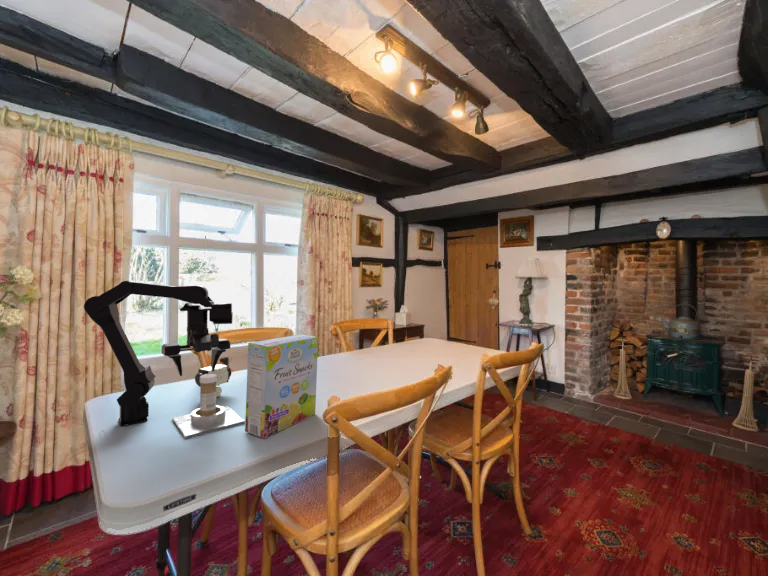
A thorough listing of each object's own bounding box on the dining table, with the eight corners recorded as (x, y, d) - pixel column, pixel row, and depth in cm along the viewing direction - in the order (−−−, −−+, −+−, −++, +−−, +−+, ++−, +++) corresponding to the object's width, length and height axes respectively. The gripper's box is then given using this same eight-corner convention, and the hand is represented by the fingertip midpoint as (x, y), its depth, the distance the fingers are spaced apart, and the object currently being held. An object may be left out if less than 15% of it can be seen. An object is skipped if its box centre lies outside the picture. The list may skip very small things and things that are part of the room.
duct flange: (185, 438, 94) (185, 426, 94) (172, 420, 106) (172, 409, 106) (244, 423, 105) (245, 412, 105) (227, 408, 117) (227, 398, 117)
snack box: (265, 440, 94) (266, 346, 93) (243, 433, 98) (244, 342, 98) (318, 414, 113) (319, 335, 112) (297, 409, 117) (299, 333, 116)
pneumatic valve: (194, 400, 123) (194, 366, 123) (223, 391, 133) (223, 360, 133) (204, 403, 121) (204, 369, 120) (233, 393, 131) (233, 362, 131)
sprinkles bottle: (216, 415, 108) (216, 372, 108) (216, 420, 104) (217, 376, 104) (199, 417, 106) (199, 374, 106) (199, 423, 102) (199, 378, 102)
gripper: (168, 330, 98) (168, 385, 99) (236, 325, 111) (236, 373, 111) (161, 325, 107) (161, 376, 107) (224, 321, 119) (224, 366, 120)
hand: (197, 373), depth 111 cm, fingers open, 9 cm apart
